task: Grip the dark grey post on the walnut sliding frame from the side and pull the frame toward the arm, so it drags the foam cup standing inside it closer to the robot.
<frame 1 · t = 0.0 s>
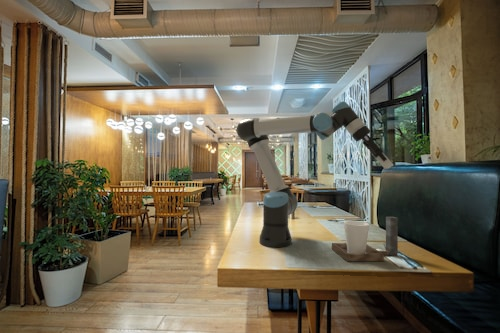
hand: (389, 167, 107), 36 cm above the table, tool tilted 35°, fingers open, 13 cm apart
foam cup: (356, 255, 99), on the table
sliding frame: (367, 235, 99), point 8 cm above the table, slide at 0.0 cm
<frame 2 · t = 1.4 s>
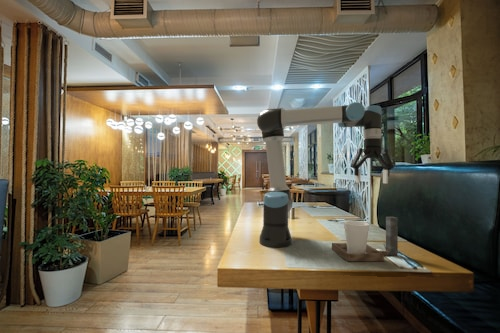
hand: (371, 183, 116), 28 cm above the table, tool pointing down, fingers open, 13 cm apart
nothing on the table moved.
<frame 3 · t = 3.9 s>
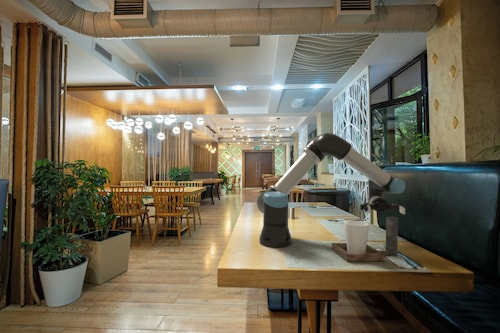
hand: (386, 210, 109), 17 cm above the table, tool horizontal, fingers open, 13 cm apart
nothing on the table moved.
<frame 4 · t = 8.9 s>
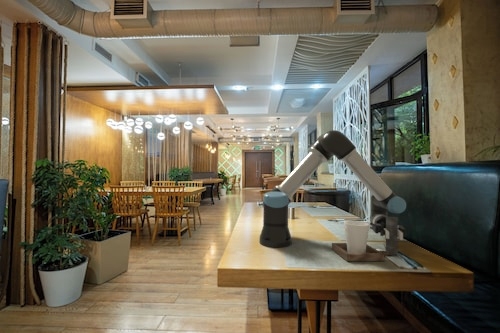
hand: (394, 236, 95), 9 cm above the table, tool horizontal, fingers closed on sliding frame, 4 cm apart
sliding frame: (367, 235, 99), point 8 cm above the table, slide at 0.0 cm, touching gripper
everything else where it was.
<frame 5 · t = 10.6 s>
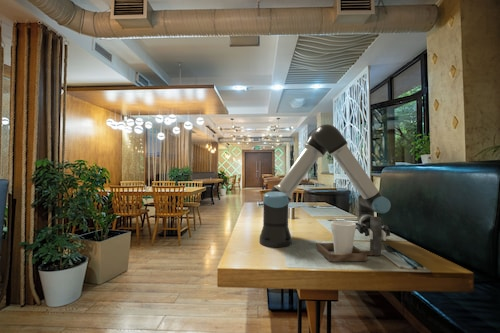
hand: (378, 236, 94), 9 cm above the table, tool horizontal, fingers closed on sliding frame, 4 cm apart
foam cup: (343, 255, 99), on the table, touching sliding frame
sliding frame: (351, 235, 99), point 8 cm above the table, slide at 6.8 cm, touching foam cup, gripper
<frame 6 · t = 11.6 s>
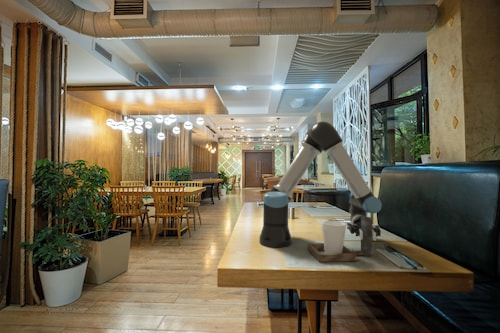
hand: (368, 236, 94), 9 cm above the table, tool horizontal, fingers closed on sliding frame, 4 cm apart
foam cup: (333, 255, 99), on the table, touching sliding frame
sliding frame: (341, 235, 99), point 8 cm above the table, slide at 10.8 cm, touching foam cup, gripper
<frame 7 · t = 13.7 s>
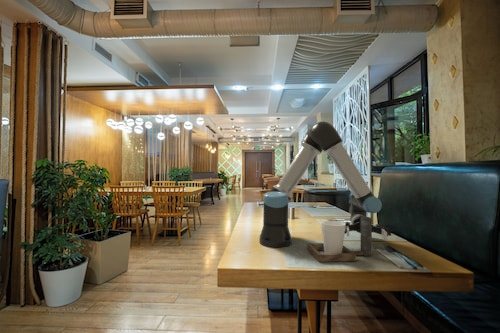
hand: (366, 234, 96), 9 cm above the table, tool horizontal, fingers open, 13 cm apart
foam cup: (333, 255, 99), on the table
sliding frame: (341, 235, 99), point 8 cm above the table, slide at 10.9 cm
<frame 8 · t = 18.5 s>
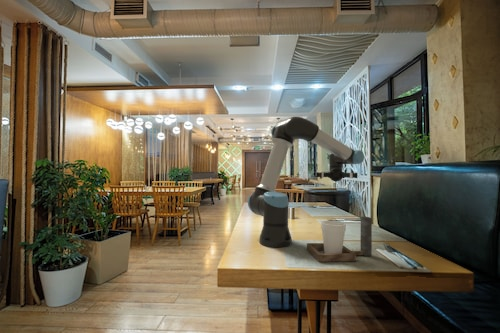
hand: (336, 175, 120), 32 cm above the table, tool horizontal, fingers open, 13 cm apart
nothing on the table moved.
at the end: sliding frame slide at 10.9 cm; foam cup inside the target area (0.5 cm from its centre), on the table; foam cup tilted 0° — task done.
